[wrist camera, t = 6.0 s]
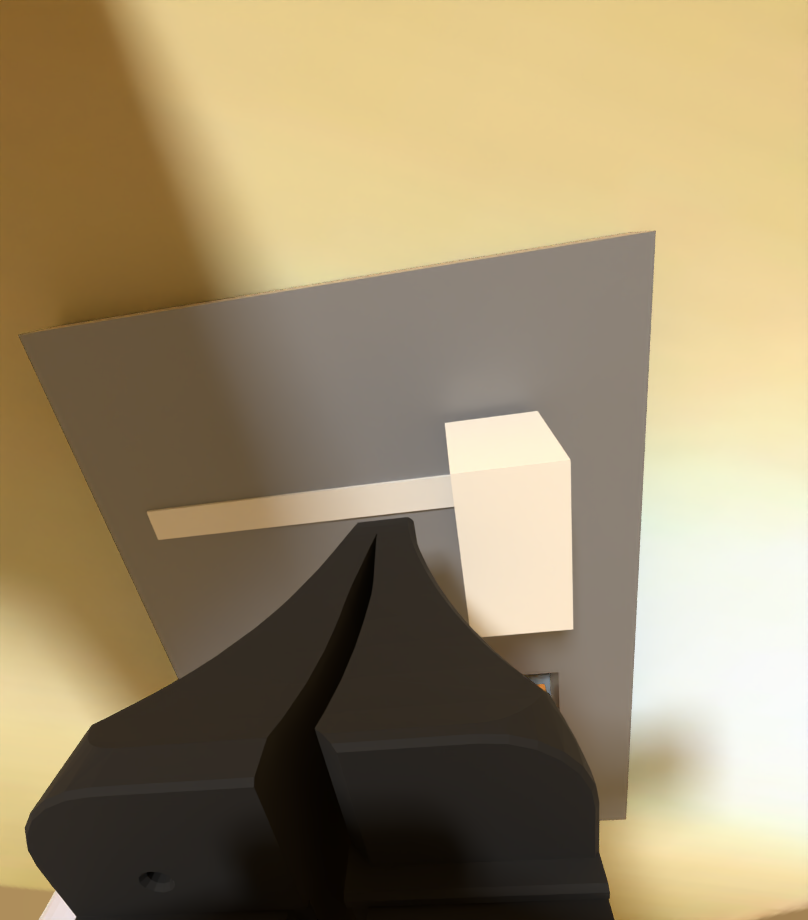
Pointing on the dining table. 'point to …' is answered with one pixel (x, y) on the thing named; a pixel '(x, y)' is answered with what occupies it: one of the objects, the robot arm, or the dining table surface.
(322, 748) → the robot arm
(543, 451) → the cream rectangular block
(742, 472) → the dining table surface
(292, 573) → the panel
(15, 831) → the dining table surface
